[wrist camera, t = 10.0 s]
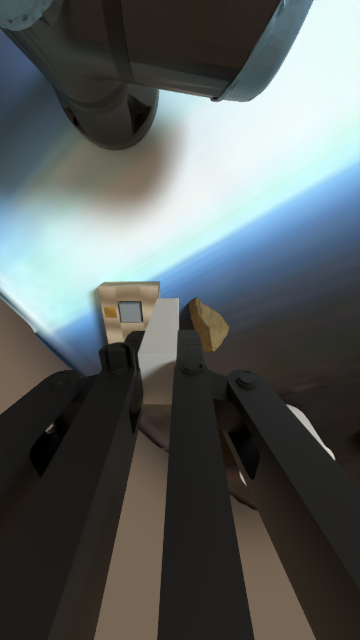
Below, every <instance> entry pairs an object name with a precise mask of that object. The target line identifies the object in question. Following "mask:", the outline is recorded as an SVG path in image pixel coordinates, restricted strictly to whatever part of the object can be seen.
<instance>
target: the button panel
mask: <svg viewBox="0 0 360 640" xmlns="http://www.w3.org/2000/svg"><path fill="white" fill-rule="evenodd" d="M98 292H99V297H100V302H101V307H102V312H103V318H104V323H105V328H106V333H107V338H108V343H109V344H112V343H116V342H124V341H125V339H126V337H127V335H128V334H130V333H131V332H132V331H146V329H147V326H148V323H149V320H150V317H151V314H152V312H153V309H154V306H155V303H156V300H157V299H160V282H104V283H102V284H101V285H100V286H98ZM121 301H141V302H142V312H143V317H142V320H141V322H122V320H121V313H120V307H119V304H120V303H121Z"/></svg>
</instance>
